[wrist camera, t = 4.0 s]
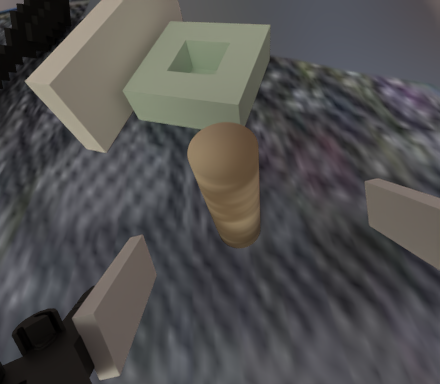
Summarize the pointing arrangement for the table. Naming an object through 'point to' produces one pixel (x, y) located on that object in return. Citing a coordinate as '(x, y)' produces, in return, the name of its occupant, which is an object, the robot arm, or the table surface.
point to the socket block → (201, 74)
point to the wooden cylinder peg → (229, 180)
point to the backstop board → (101, 67)
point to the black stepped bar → (32, 32)
